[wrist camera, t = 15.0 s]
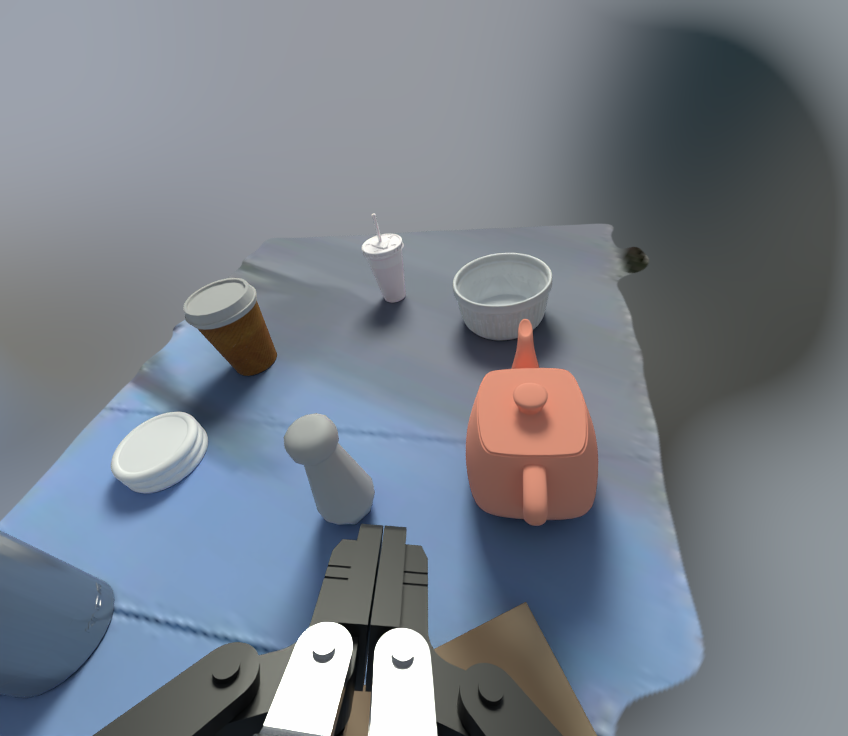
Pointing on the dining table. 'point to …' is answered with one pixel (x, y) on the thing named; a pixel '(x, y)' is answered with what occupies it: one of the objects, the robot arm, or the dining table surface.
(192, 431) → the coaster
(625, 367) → the dining table surface
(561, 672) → the wooden cutting board
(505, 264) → the ramekin
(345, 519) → the salt shaker
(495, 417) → the teapot
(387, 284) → the smoothie
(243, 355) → the disposable coffee cup
